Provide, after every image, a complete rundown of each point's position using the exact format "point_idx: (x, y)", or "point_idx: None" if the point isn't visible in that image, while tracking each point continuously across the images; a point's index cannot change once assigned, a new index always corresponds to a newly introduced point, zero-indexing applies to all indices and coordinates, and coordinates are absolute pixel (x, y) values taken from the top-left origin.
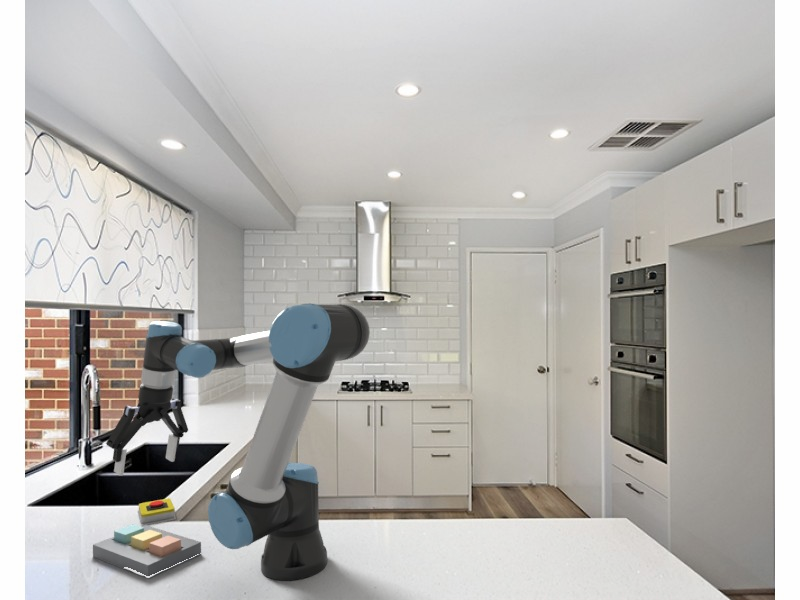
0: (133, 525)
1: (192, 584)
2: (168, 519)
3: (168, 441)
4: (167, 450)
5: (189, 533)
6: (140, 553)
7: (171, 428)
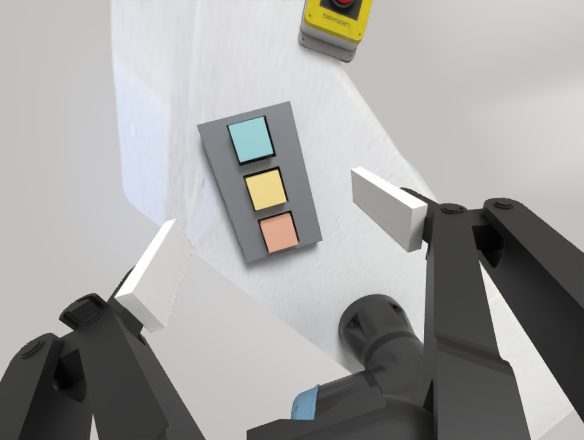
0: (262, 124)
1: (280, 297)
2: (342, 52)
3: (388, 195)
4: (366, 184)
5: (338, 151)
6: (249, 219)
7: (427, 285)
